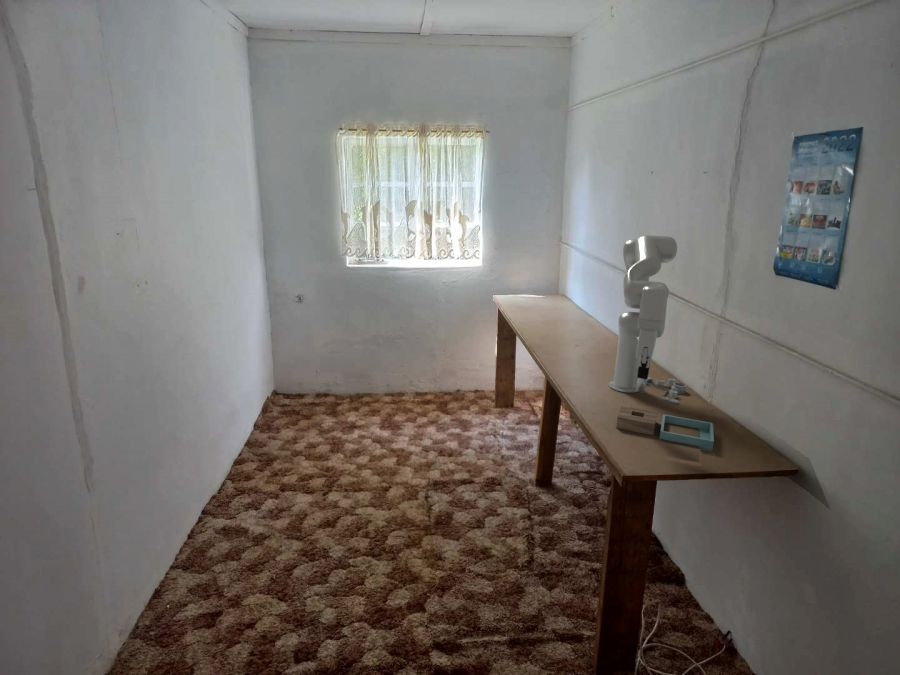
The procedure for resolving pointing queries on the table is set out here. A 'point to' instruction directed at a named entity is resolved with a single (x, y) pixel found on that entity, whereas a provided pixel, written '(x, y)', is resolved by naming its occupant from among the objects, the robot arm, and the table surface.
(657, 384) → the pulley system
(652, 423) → the block
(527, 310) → the table surface
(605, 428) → the table surface
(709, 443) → the tray
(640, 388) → the pin
